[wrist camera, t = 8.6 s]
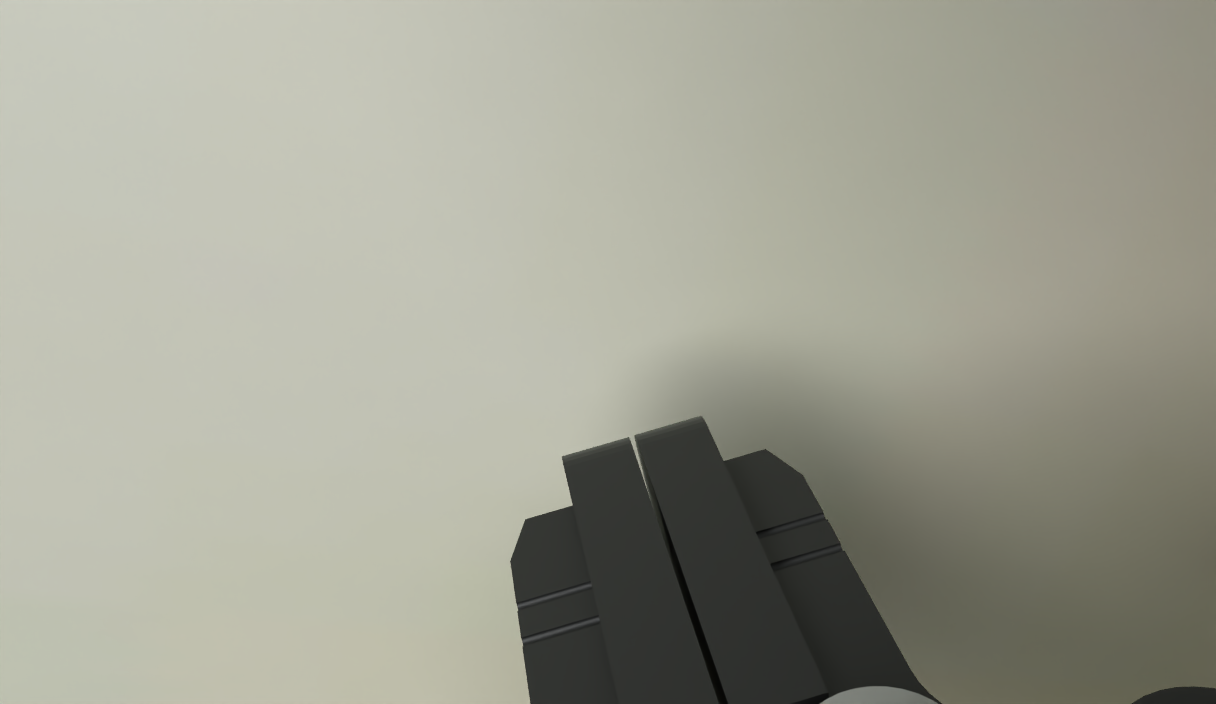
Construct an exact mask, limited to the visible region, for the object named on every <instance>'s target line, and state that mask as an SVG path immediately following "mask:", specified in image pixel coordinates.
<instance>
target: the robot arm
mask: <svg viewBox="0 0 1216 704" xmlns="http://www.w3.org/2000/svg"><path fill="white" fill-rule="evenodd" d="M635 441H636V446H637V450H638V454H639V458H640V462H641V466H642V469H643V473H644V477H645V481H646V485H647V489H648V492H647V489H646V486H645V483H644V480H643V477H642V474H641V471H640V468H639V465H638V462H637V459H636V456H635V453H634V450H633V447H632V444H631V441H630V439H629V437H628V438H624V439H621V440H617V441H614V442H611V443H607V444H604V445H600V446H597V447H593V448H590V449H586V450H583V451H579V452H576V453H572V454H569V455H566V456H562V460H563V465H564V469H565V473H566V478H567V482H568V486H569V491H570V495H571V499H572V503H573V506H570V507H566V508H563V509H559V510H556V511H553V512H549V513H546V514H542V515H539V516H535V517H532V518H529V519H525V522H524V525H523V527H522V530H521V533H520V536H519V539H518V541H517V544H516V547H515V550H514V552H513V555H512V558H511V561H510V562H511V569H512V576H513V583H514V590H515V597H516V603H517V607H518V618H519V625H520V632H521V638H522V642H523V653H524V660H525V668H526V675H527V682H528V689H529V696H530V703H531V704H942V703H940V702H939V701H938V700H937V699H935V698H934V697H933V696H932V695H931V694H929V693H928V691H927V690H926V689H925V688H924V687H923V686H922V685H921V684H920V683H919V682H918V680H917V679H916V677H915V676H914V674H913V673H912V671H911V670H910V668H909V666H908V664H907V662H906V661H905V659H904V657H903V655H902V653H901V652H900V650H899V648H898V646H897V644H896V643H895V641H894V639H893V637H892V635H891V634H890V632H889V630H888V628H887V626H886V625H885V623H884V621H883V619H882V617H881V616H880V614H879V612H878V610H877V608H876V607H875V605H874V603H873V601H872V599H871V597H870V596H869V594H868V592H867V590H866V588H865V587H864V585H863V583H862V581H861V579H860V578H859V576H858V574H857V572H856V570H855V569H854V567H853V565H852V563H851V561H850V560H849V558H848V556H847V554H846V552H845V551H843V550H842V548H841V544H840V541H839V540H838V538H837V536H836V534H835V532H834V531H833V529H832V527H831V525H830V523H829V522H828V520H826V519H825V517H824V514H823V511H822V509H821V507H820V505H819V504H818V502H817V500H816V498H815V496H814V495H813V493H812V491H811V489H810V487H809V486H808V484H807V482H806V480H805V478H804V476H803V475H802V474H800V473H799V472H798V471H796V470H795V469H793V468H792V467H790V466H789V465H788V464H786V463H785V462H783V461H782V460H780V459H779V458H778V457H776V456H775V455H773V454H772V453H770V452H769V451H767V450H766V449H764V450H761V451H757V452H754V453H751V454H747V455H744V456H740V457H737V458H733V459H730V460H727V461H723V459H722V457H721V455H720V453H719V451H718V448H717V446H716V444H715V442H714V440H713V437H712V435H711V433H710V431H709V429H708V426H707V424H706V422H705V420H704V419H703V417H702V416H699V417H696V418H692V419H689V420H686V421H682V422H679V423H675V424H672V425H668V426H665V427H661V428H658V429H654V430H651V431H647V432H644V433H641V434H637V435H635ZM648 493H649V495H648ZM649 497H650V498H649ZM650 500H651V501H650ZM1132 704H1216V689H1215V688H1205V687H1175V688H1170V689H1164V690H1159V691H1157V692H1154V693H1151V694H1148V695H1146V696H1143V697H1142V698H1140V699H1138V700H1137V701H1135V702H1133V703H1132Z"/></svg>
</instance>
